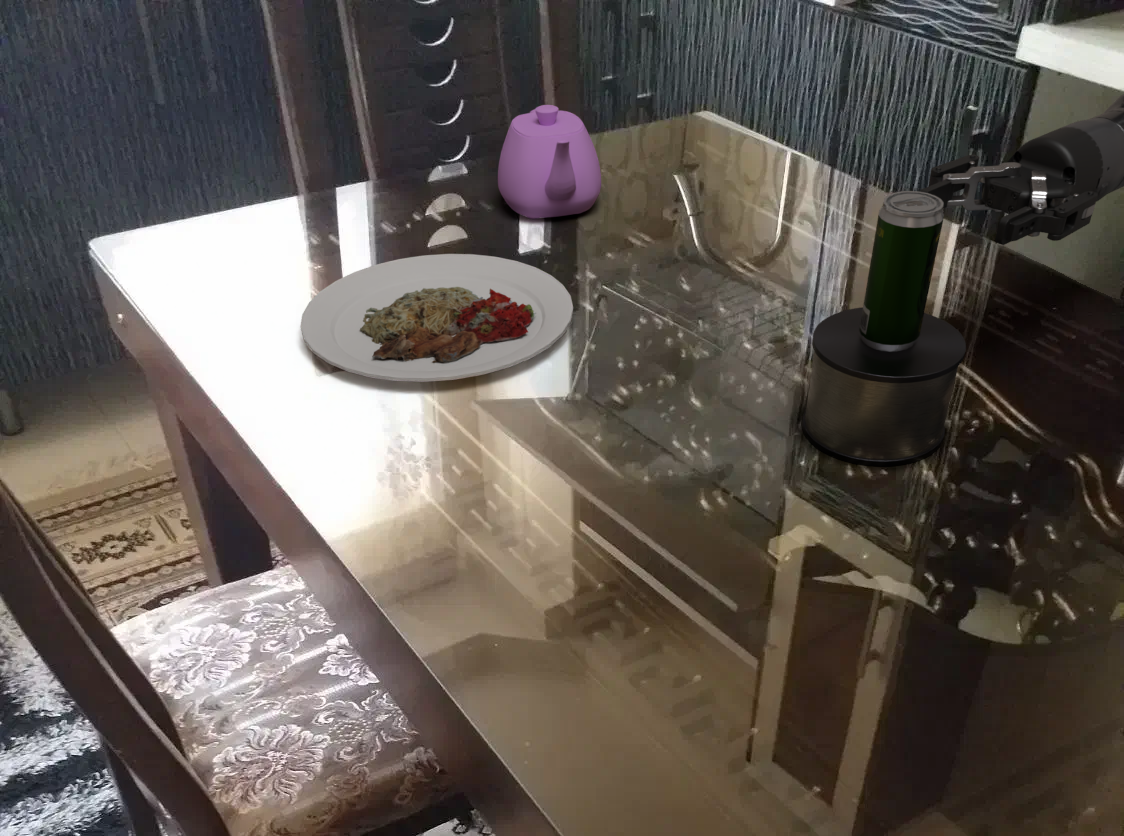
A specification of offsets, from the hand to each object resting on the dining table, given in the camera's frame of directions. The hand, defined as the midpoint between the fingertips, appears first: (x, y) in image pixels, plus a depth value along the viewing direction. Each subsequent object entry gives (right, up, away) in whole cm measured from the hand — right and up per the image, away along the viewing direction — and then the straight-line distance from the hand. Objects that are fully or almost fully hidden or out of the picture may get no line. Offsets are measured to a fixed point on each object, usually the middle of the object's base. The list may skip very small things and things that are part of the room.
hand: (959, 218), depth 101 cm
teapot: (-36, +24, +50) cm, 66 cm away
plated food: (-49, 0, +27) cm, 56 cm away
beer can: (-5, -10, +4) cm, 11 cm away
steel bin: (-5, -16, +10) cm, 19 cm away
